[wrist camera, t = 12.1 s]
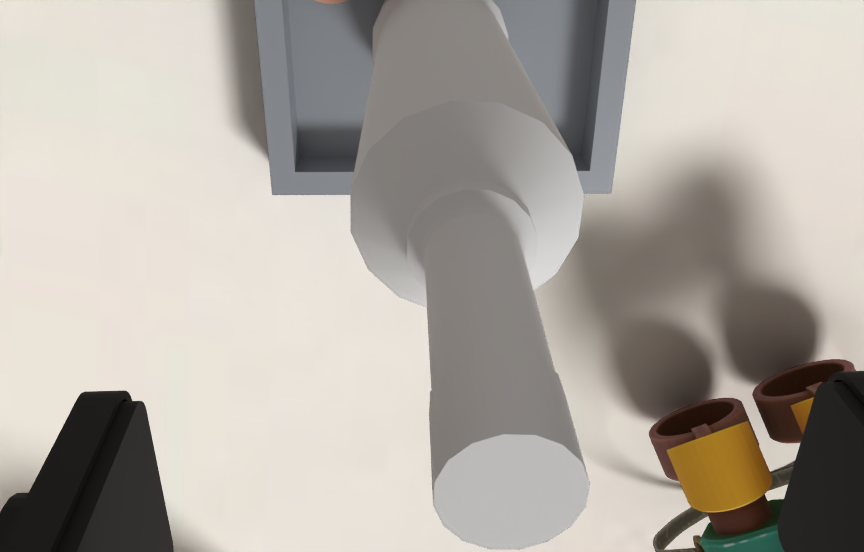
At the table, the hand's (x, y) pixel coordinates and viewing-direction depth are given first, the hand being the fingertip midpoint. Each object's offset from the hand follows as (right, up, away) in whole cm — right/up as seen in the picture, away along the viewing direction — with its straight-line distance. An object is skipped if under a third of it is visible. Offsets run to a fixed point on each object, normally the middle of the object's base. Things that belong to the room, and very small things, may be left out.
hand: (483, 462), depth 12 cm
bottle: (-1, +12, +21) cm, 24 cm away
